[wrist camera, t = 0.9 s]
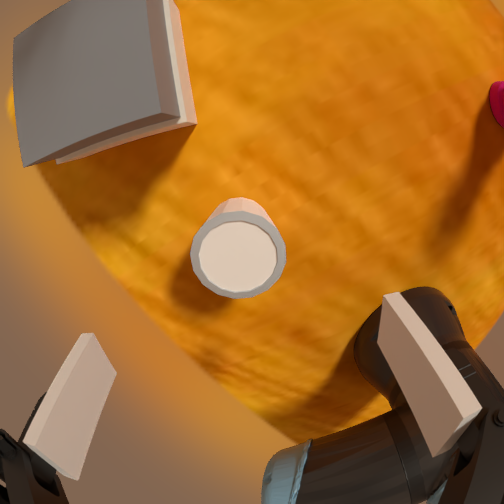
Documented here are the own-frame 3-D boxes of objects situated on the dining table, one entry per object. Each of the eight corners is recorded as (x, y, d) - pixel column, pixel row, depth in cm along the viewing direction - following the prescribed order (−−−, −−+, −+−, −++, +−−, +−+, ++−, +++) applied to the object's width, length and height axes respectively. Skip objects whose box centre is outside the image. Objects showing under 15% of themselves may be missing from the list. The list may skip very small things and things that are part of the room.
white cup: (201, 257, 28) (189, 295, 21) (204, 187, 25) (190, 207, 18) (271, 263, 28) (279, 302, 22) (280, 194, 25) (293, 216, 19)
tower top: (180, 117, 18) (161, 112, 14) (60, 157, 19) (23, 167, 14) (162, -4, 14) (143, -32, 9) (48, 47, 14) (13, 38, 10)
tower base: (198, 124, 23) (187, 121, 18) (84, 157, 23) (56, 164, 19) (179, 12, 18) (167, -10, 13) (70, 53, 19) (43, 45, 14)
